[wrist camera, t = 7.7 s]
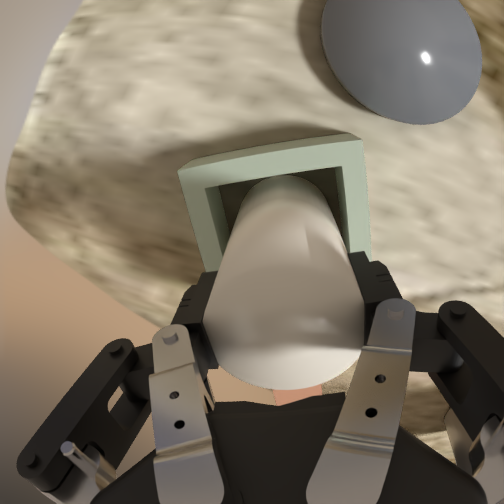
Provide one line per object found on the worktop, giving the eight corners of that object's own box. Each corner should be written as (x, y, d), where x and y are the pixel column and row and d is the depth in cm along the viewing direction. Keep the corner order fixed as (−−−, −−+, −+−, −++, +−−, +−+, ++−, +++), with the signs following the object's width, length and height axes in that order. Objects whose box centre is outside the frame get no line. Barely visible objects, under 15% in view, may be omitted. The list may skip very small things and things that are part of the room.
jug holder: (362, 273, 21) (372, 298, 19) (227, 291, 23) (220, 318, 20) (349, 133, 17) (362, 139, 14) (191, 159, 19) (177, 170, 16)
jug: (230, 183, 19) (180, 276, 10) (324, 168, 18) (369, 251, 9) (257, 302, 23) (241, 431, 13) (337, 291, 22) (363, 420, 12)
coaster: (480, 121, 15) (490, 123, 14) (337, 129, 17) (341, 131, 16) (453, -21, 11) (461, -26, 10) (303, -28, 13) (304, -35, 12)
